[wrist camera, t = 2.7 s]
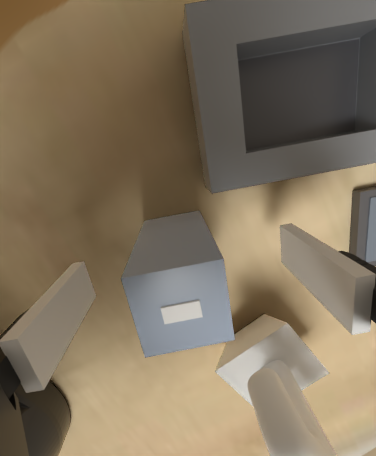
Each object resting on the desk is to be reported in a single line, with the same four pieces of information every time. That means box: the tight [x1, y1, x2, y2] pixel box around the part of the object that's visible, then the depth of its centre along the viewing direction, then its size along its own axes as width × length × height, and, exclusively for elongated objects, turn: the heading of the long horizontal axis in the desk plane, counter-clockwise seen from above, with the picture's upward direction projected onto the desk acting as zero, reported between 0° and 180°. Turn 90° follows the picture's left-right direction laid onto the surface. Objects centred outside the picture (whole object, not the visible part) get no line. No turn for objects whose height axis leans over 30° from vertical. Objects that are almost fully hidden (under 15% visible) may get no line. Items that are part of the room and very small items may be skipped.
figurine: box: [215, 314, 338, 456], centre depth 16 cm, size 7×9×15 cm
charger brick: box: [121, 211, 235, 358], centre depth 15 cm, size 4×4×9 cm
